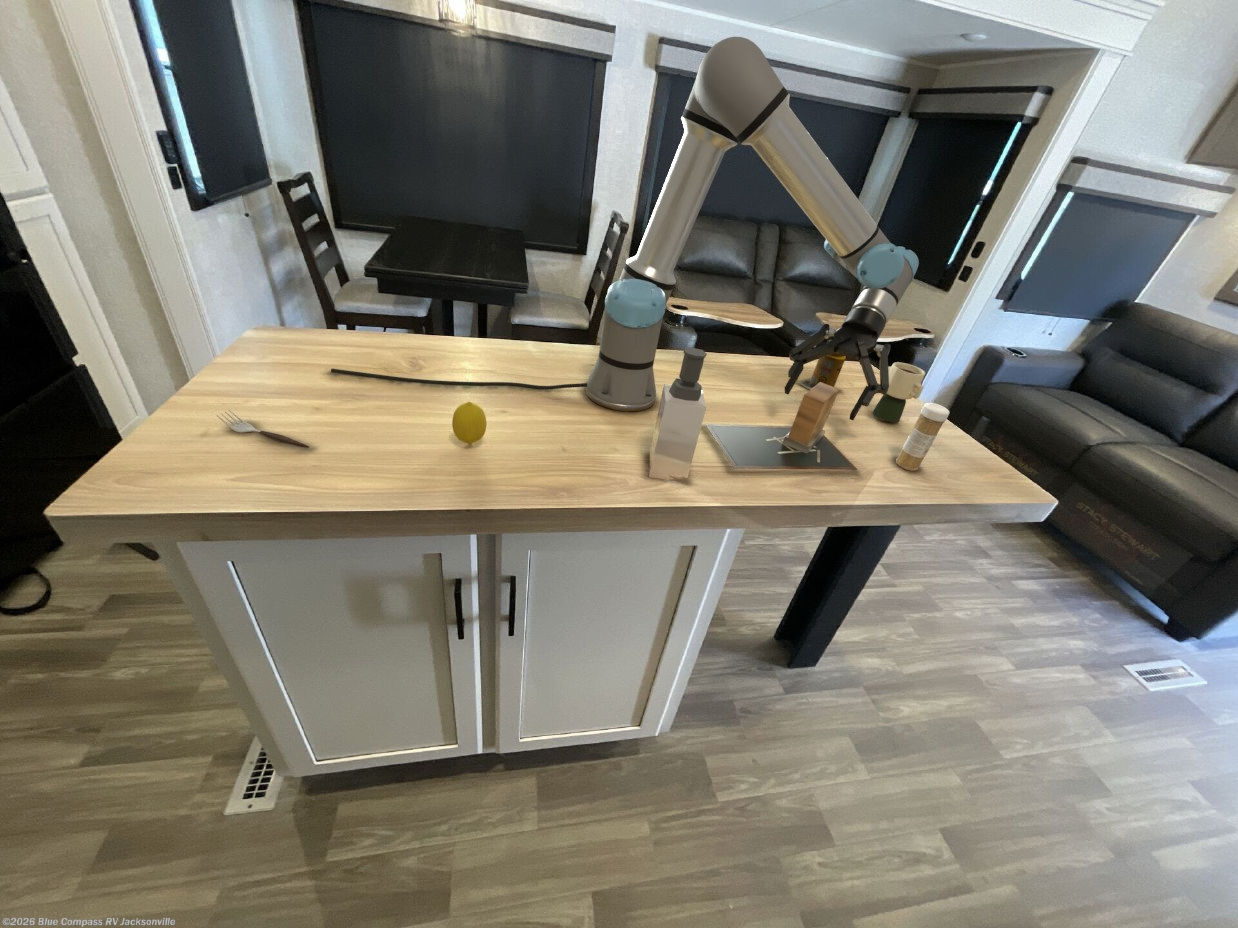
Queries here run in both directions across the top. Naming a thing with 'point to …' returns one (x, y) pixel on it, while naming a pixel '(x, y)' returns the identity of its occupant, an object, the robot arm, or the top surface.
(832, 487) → the top surface
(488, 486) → the top surface
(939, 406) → the sprinkles bottle
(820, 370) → the condiment
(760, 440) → the chalkboard
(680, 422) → the soap dispenser
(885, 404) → the cream and green goblet
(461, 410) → the lemon
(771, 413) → the top surface
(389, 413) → the top surface
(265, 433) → the fork
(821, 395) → the eraser
